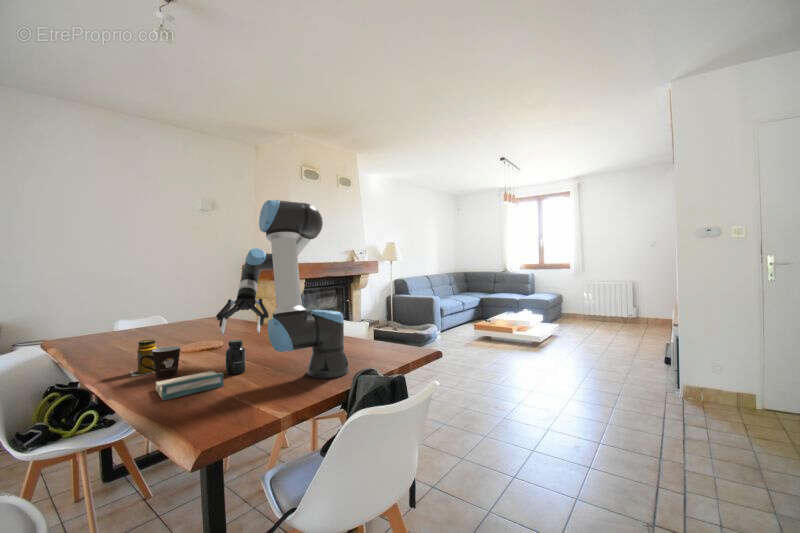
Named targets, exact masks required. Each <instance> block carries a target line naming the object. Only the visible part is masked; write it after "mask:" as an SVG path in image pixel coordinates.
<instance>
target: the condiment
mask: <svg viewBox="0 0 800 533" xmlns="http://www.w3.org/2000/svg"><path fill="white" fill-rule="evenodd" d="M137 343H138V348H137V355H136V356H137V370H133V371H129V374H130V376H131V377H137V376H143V375H149V374H156V372H155V371H154V370H151V369H148V368H145V367H143V366H142V365H141V364H140V359H141V358H142V357H143V356H146V355H151V356H153V352H152V350H154V349H157V348H158V347H157V346H156V340H155V339H145V340H140V341H138V342H137ZM142 364H143V365H145V366H147V367H150V368H153V369H155V365H154V361H153V360H152V358H151V357H145V358H143V359H142Z"/></svg>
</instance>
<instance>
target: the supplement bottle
mask: <svg viewBox="0 0 800 533" xmlns="http://www.w3.org/2000/svg"><path fill="white" fill-rule="evenodd" d="M227 346H228V348H226V350H225V374H226V375H229V376H236V375H237V376H238V375H241V374H243V373H245V372H246V369H247V368H246V363H247V362H246V353H247V352H246V348H245V347H244V344H243V339H233V340H229V341H228V345H227Z"/></svg>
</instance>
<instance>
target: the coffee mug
mask: <svg viewBox="0 0 800 533" xmlns="http://www.w3.org/2000/svg"><path fill="white" fill-rule="evenodd" d="M152 352H153V356H151V355H146V356H143V357H142V358H141V359H140V364H141V365H142V366H143V367H145V368H148V369H151V370H154V371H155V375H156V376H155V377H156V379H159V380H161V379H163V380H165V379H169V378H170V379H171V378H175V377H176V376H178V372H179V362H180V355H181V354H180V353H181V346H179V345H178V346H177V345H173V346H172V345H169V346H162V347H157V349H154V350H152ZM145 357H151V358H152V360H153V361H154V365H155V369H153V368H150V367H147V366H145V365H143V364H142V359H143V358H145Z"/></svg>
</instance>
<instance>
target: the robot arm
mask: <svg viewBox="0 0 800 533" xmlns="http://www.w3.org/2000/svg"><path fill="white" fill-rule="evenodd" d="M323 224H324V223H323V216H322V214H321V213H320V211H319V209H317V208H316V207H315V206H313V205H312V204H310V203H308V202H307V203H306V202H297V201H289V200H287V201H286V200H280V199H277V200H276V199H269V200H268V199H267V200H266V201H265V202H264V203H263V204H262V206H261V210H260V213H259V220H258V226H259V230H260V232H262V233H265V237H266V239H267V240H268V241H269V242H270V244H271V245H270V246H271V253H268V252H267V253H266V252H265V251H264V249H260V248H258V247H255V248H251V249H250V250H249V251H248V253H247V254H246V257H245V261H244V265H243V267H242V270H241V276H240V282H239V284H238V285H239V286H238V291H237V295H236V299H235V300H232V299H231V298H230V299H228V300H227V302H226V304H225V305H224V306H223V308H221V309H220V311H218V313H217V314H216V315H215V318H216V319H217V321H219V328H220V329H219V330H220V334H221V336H224V335H225V330H226V326H227V320H228V319H229V318H230V317H232V315H234V314H236V313H237V312H239V311H245V310H246V311H249V310H251V311H252V312H254V314H255V315H257V316H258V318H257V325H256V332H257V334H260V333H261V326H264V322H265V321H264V320H265V319H269V318H270V315H269V312H268V310H267V309H266V307H265V305H264V303H263V298H259V299H257V292H258V283H259V279H260V275H261V273H262V271H273V280H274V281H273V282H274V290H275V292H274V294H275V303H276V309H275V310H274V312H272V318H271V319H269V320H268V321H267V335H268V339H269V342H270V345H271V346H272V347H273V349H274V350H275V351H277V352H278V353H285V352H293V351H298V350H305V349H309V348H311V349H312V351H311V356H310V359H309V362H308V365H307V375H308V376H309V377H310V378H314V379H332V378H333V379H335V378H338V377H342V376H344V375H347V374H348V373H349V372H350V365H349V361H348V358H347V356H346V352H345V344H344V343H345V341H344V340H345V338H344V337H345V336H344V335H345V334H344V329H345V328H344V326H345V323H344V322H345V320H344V315H343V313H342V312H341V311H338V310H337V311H336V310H330V309H329V310H327V309H312V310H311V312H310V314H308V309H307V308H305V307H304V306H303V300H302V291H301V290H302V289H301V281H300V270H299V261H298V256H299V255H300V254H301V252H303V250H304V249H305V248H306V246H307V245H308V244H309V243H310V242H311V240H315V239H316V238H317V237H318V236H319V235H320V233H321V231H322V229H323ZM256 304H257V305H258V306H259V307H260V309H261V311H260V309H258V308H257V307H256Z"/></svg>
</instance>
